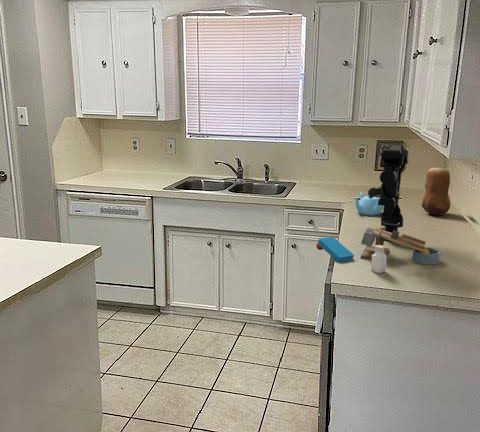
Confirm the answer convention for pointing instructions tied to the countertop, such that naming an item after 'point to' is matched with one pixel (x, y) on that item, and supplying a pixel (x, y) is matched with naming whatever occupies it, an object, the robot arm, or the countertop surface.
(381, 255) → the pepper shaker
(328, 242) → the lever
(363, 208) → the teapot
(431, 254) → the blue bowl
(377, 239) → the lever stand
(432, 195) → the butternut squash
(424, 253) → the ball
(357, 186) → the countertop surface
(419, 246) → the tipping lever
